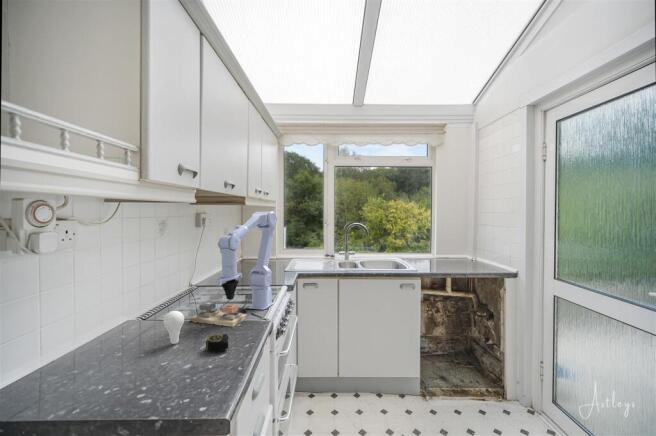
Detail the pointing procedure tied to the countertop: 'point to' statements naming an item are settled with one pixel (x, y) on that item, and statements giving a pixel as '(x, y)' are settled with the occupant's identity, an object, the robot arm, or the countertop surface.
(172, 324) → the lightbulb
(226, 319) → the button mount
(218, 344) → the tape measure
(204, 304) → the button charcoal
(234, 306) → the button terracotta
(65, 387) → the countertop surface
